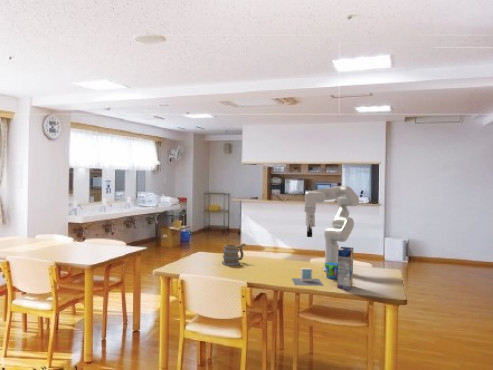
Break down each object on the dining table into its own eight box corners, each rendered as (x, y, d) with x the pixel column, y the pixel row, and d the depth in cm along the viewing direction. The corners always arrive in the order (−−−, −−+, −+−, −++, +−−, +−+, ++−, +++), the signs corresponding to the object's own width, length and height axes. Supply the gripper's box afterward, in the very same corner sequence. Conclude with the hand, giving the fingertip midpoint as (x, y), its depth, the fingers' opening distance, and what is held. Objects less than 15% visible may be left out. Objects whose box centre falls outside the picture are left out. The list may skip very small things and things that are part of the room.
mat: (318, 279, 264) (318, 278, 264) (323, 286, 247) (323, 285, 247) (291, 279, 264) (291, 278, 264) (294, 286, 247) (294, 285, 247)
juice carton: (340, 284, 254) (341, 246, 254) (352, 285, 251) (353, 247, 251) (337, 288, 243) (338, 249, 242) (349, 290, 240) (350, 250, 240)
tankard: (227, 266, 299) (227, 246, 299) (219, 262, 310) (220, 243, 310) (250, 263, 309) (250, 244, 309) (242, 260, 320) (242, 242, 320)
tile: (311, 280, 260) (311, 268, 260) (312, 281, 258) (312, 268, 257) (300, 280, 260) (301, 267, 259) (301, 281, 257) (301, 268, 257)
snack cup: (328, 275, 277) (328, 260, 277) (343, 277, 272) (343, 262, 272) (321, 280, 264) (321, 264, 263) (336, 282, 259) (337, 266, 258)
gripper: (317, 211, 265) (317, 238, 266) (313, 209, 281) (312, 235, 281) (306, 210, 265) (305, 238, 265) (302, 209, 281) (302, 235, 281)
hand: (309, 236), depth 273 cm, fingers closed
